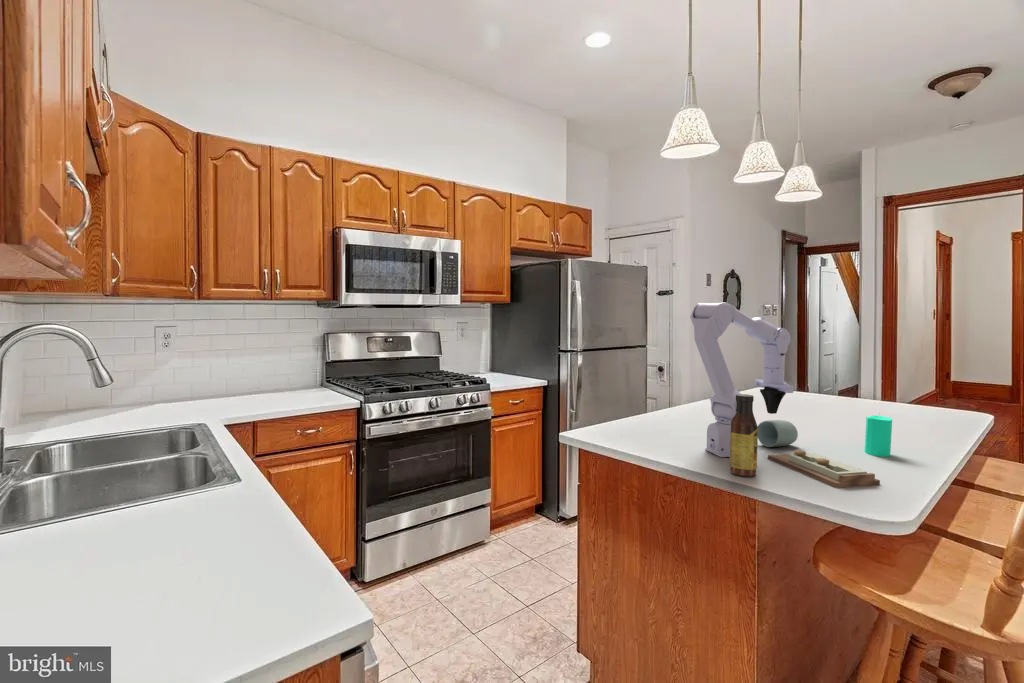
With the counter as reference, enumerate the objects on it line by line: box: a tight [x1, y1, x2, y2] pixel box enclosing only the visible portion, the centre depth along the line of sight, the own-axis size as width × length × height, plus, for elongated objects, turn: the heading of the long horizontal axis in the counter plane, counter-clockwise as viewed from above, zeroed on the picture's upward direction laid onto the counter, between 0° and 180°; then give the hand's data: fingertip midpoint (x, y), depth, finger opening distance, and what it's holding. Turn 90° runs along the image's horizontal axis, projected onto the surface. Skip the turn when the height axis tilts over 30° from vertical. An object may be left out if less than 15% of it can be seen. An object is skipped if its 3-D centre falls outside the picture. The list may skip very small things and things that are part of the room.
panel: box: [788, 452, 868, 480], centre depth 127 cm, size 8×16×2 cm, turn 11°
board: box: [767, 449, 881, 489], centre depth 129 cm, size 12×23×4 cm, turn 11°
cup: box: [757, 419, 799, 448], centre depth 153 cm, size 8×8×10 cm
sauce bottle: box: [729, 393, 759, 477], centre depth 126 cm, size 6×6×20 cm
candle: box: [864, 412, 893, 458], centre depth 145 cm, size 6×6×12 cm
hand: (772, 413), depth 150 cm, fingers closed
